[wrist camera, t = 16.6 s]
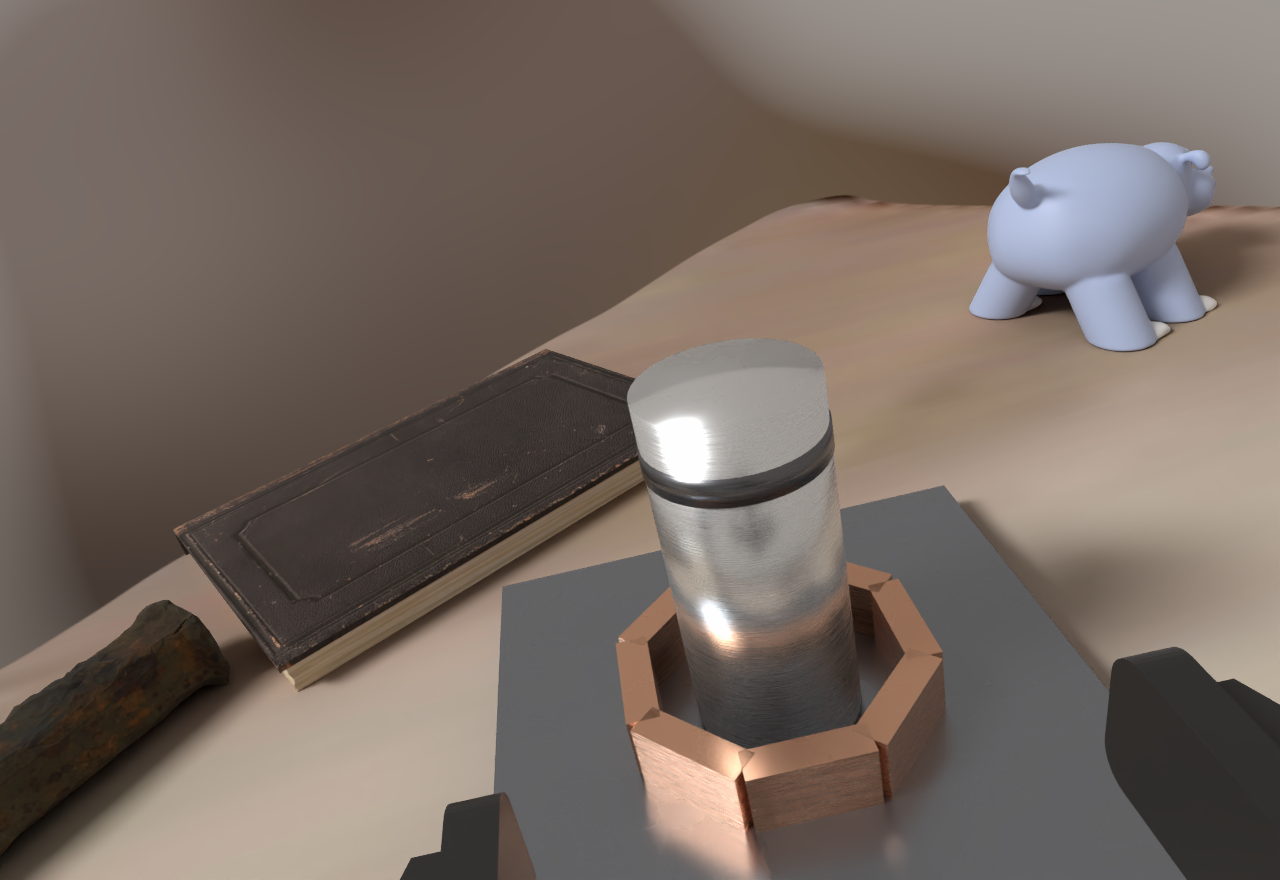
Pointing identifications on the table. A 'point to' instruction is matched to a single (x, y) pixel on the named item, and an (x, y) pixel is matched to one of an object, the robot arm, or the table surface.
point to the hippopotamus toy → (1100, 240)
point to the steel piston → (751, 535)
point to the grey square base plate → (823, 762)
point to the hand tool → (101, 711)
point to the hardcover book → (417, 511)
